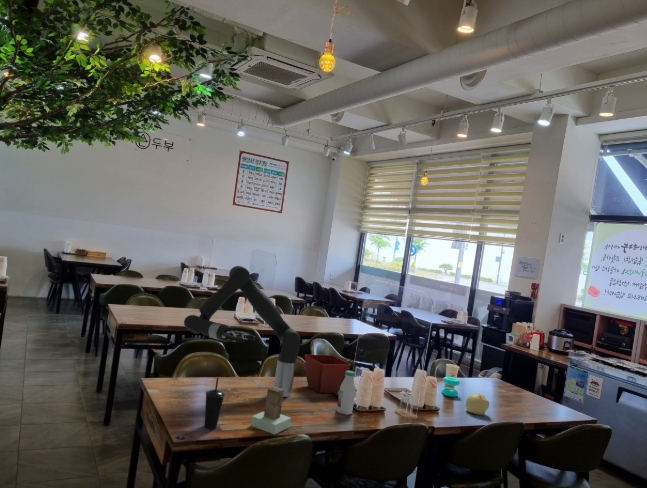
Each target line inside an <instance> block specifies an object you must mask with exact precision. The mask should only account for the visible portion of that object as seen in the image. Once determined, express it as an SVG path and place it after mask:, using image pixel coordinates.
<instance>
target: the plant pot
mask: <svg viewBox="0 0 647 488" xmlns="http://www.w3.org/2000/svg"><path fill="white" fill-rule="evenodd" d="M304 368H305V370H304V371H305V377H306V378H305V379H306V383H307V387H309V388H310V389H312V391H313V390H314V391H315V392H317V393H318V394H333V393H332V392H338V391H340V386H341V384H342V382H343V381H344V379H345V373H346V371H350V368H351V363H349V362H347V361H345V360H343V359H341V358H340V357H337V356H335V355H333V354H332V355H331V354H330V355H327V354H304ZM338 393H339V392H338Z"/></svg>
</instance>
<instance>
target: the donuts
mask: <svg viewBox="0 0 647 488" xmlns="http://www.w3.org/2000/svg"><path fill="white" fill-rule="evenodd" d="M442 381H443V383H444V384H446V385H448V386H453V387H458V386H459V385H460V384H461V382H460V379H458V378H457V377H453V376H452V377H451V376H445V377H443V379H442ZM441 394H442V395H444V396H447V397H451V398H455V397H457V396H459V392H458V390H457V389H454V388H452V387H443V388H441Z"/></svg>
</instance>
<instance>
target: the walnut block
mask: <svg viewBox="0 0 647 488" xmlns="http://www.w3.org/2000/svg"><path fill="white" fill-rule="evenodd" d="M266 393H267V394H266V399H265V405H264V411H263V412H264V417H266V418H269V419H272V420H275V419H277V418H280V414H282V413H281V412H282V407H283V406H282V405H283V400H284V397H283V394H284V389H281V388H278V387H275V386H274V385H273V386H272V387H269V388H268V387H267V392H266Z"/></svg>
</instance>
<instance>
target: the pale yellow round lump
mask: <svg viewBox="0 0 647 488" xmlns="http://www.w3.org/2000/svg"><path fill="white" fill-rule="evenodd" d="M464 406H465V408H466V411H467V412H469V413H471V414H474V415H479V416H483V415H484V414H485V413H487V410H488V409H490V401H489V399H487V398H486V397H485V395H484V394H483V393H481V394H480V393H477V392H475V393H471V394H469V395H468V396H467V398H466V399H465V405H464Z"/></svg>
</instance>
